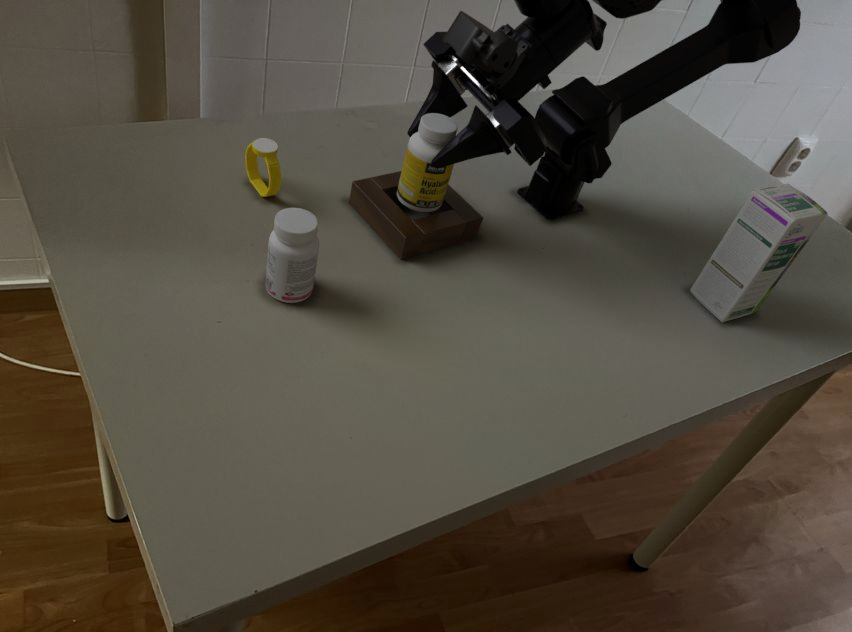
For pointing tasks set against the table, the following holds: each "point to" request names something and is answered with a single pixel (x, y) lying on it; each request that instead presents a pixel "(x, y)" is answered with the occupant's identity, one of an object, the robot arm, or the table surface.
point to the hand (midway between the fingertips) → (421, 150)
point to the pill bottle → (292, 255)
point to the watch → (268, 151)
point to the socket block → (418, 235)
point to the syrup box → (757, 251)
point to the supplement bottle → (426, 164)
